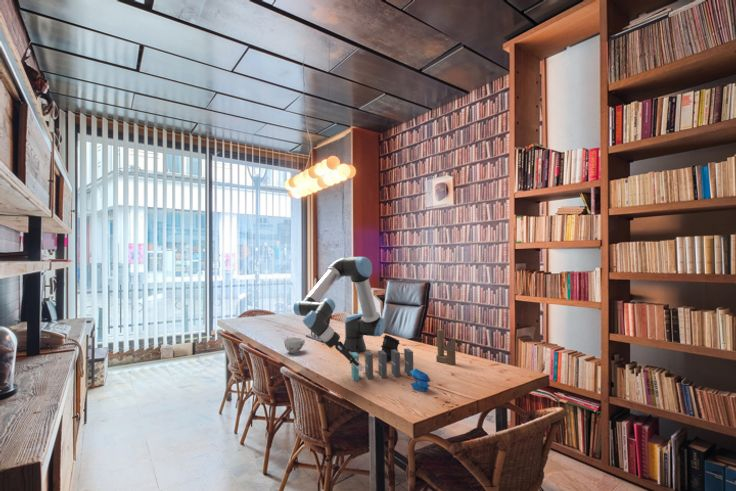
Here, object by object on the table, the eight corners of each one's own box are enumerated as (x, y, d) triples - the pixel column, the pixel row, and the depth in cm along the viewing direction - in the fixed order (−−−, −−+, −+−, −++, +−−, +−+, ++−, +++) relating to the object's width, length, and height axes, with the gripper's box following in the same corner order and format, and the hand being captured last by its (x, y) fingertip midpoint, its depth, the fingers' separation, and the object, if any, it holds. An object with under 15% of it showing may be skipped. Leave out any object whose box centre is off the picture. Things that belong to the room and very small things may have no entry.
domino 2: (382, 378, 181) (381, 354, 182) (378, 374, 188) (378, 350, 188) (386, 378, 182) (386, 353, 182) (383, 373, 189) (382, 350, 189)
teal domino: (354, 380, 178) (353, 356, 178) (351, 376, 185) (351, 352, 185) (359, 380, 179) (358, 355, 179) (356, 376, 185) (356, 352, 186)
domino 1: (368, 379, 180) (368, 355, 180) (365, 375, 186) (364, 351, 187) (373, 379, 180) (373, 354, 181) (369, 374, 187) (369, 351, 187)
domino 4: (408, 376, 184) (408, 352, 185) (404, 371, 191) (404, 348, 192) (413, 375, 185) (413, 351, 185) (408, 371, 192) (408, 348, 192)
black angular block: (376, 360, 207) (383, 334, 212) (390, 366, 216) (397, 340, 221) (381, 361, 205) (388, 335, 210) (395, 367, 213) (402, 341, 218)
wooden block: (452, 365, 202) (451, 332, 202) (436, 361, 210) (435, 329, 210) (456, 364, 204) (455, 331, 205) (440, 360, 212) (439, 329, 213)
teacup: (291, 355, 225) (291, 342, 225) (279, 352, 233) (279, 339, 234) (310, 351, 236) (310, 338, 237) (298, 347, 245) (298, 335, 245)
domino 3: (395, 377, 183) (395, 353, 183) (391, 373, 190) (391, 349, 190) (400, 376, 183) (399, 352, 184) (395, 372, 190) (395, 349, 191)
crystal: (429, 379, 159) (405, 368, 166) (425, 397, 160) (401, 386, 167) (436, 374, 165) (413, 364, 172) (432, 392, 166) (409, 381, 173)
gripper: (321, 337, 191) (350, 364, 194) (327, 348, 167) (359, 379, 170) (331, 326, 192) (359, 353, 195) (338, 336, 168) (370, 366, 171)
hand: (359, 365), depth 183 cm, fingers open, 13 cm apart
